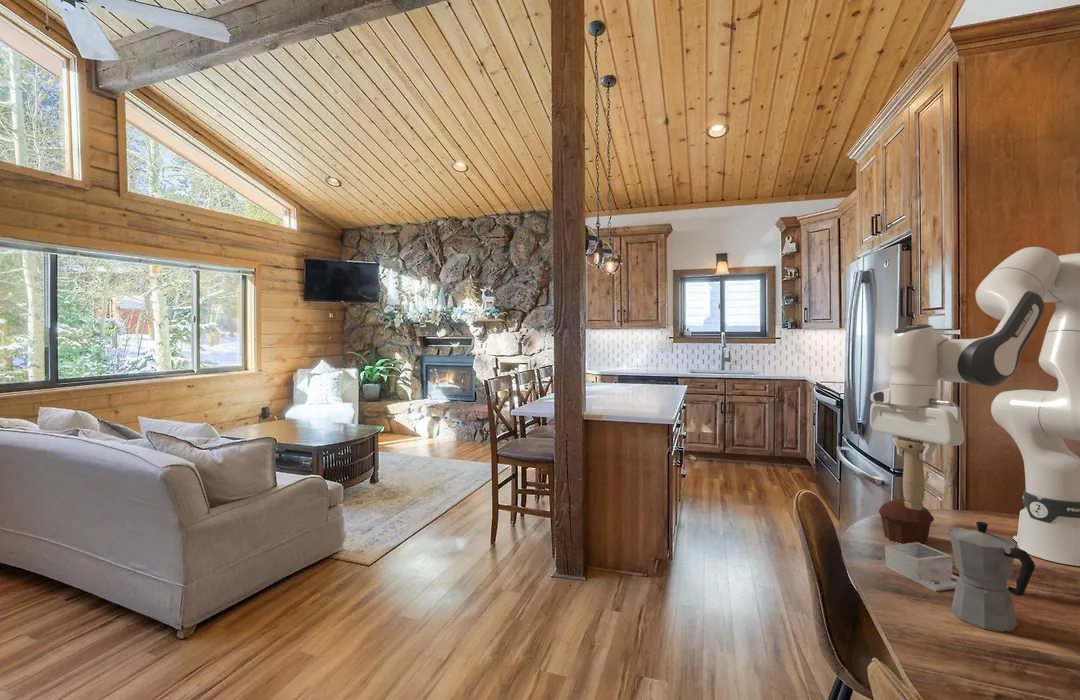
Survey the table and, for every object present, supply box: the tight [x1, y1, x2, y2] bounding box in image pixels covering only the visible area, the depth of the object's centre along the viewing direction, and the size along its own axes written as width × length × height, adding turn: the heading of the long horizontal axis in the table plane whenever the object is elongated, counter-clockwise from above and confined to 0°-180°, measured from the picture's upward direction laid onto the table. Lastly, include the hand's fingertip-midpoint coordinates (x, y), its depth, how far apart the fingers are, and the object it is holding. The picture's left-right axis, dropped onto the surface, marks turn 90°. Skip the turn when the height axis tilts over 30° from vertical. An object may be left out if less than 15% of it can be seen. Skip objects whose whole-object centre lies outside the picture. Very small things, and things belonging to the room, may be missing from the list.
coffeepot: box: [947, 521, 1036, 633], centre depth 92 cm, size 15×9×18 cm, turn 6°
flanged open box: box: [884, 542, 959, 592], centre depth 110 cm, size 9×12×5 cm
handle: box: [895, 438, 926, 510], centre depth 113 cm, size 5×6×15 cm
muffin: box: [878, 499, 935, 545], centre depth 130 cm, size 12×11×10 cm
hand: (914, 458), depth 113 cm, fingers closed on handle, 4 cm apart
